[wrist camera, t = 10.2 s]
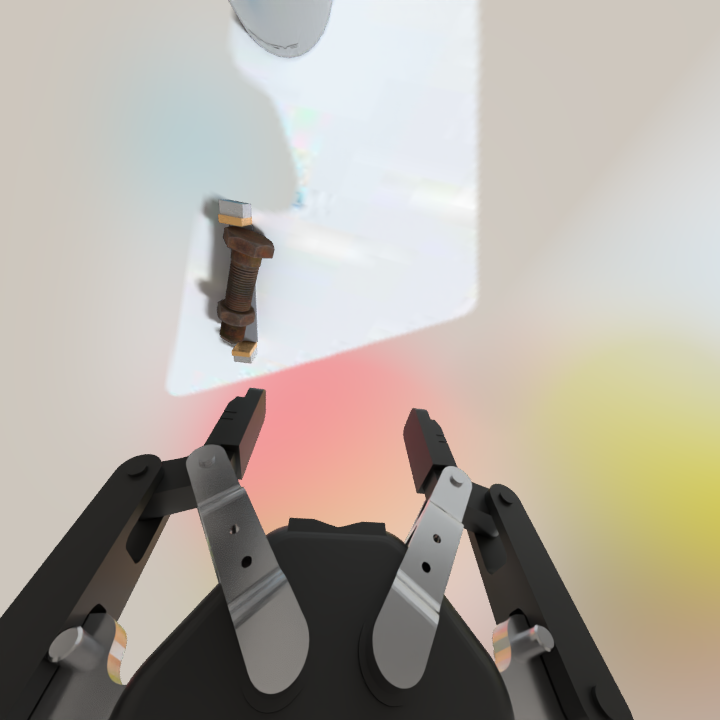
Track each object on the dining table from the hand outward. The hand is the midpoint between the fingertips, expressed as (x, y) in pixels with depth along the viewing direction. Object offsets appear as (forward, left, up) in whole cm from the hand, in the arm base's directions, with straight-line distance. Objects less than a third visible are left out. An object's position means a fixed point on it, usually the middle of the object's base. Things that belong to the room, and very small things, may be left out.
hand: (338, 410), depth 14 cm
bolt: (+3, -14, -26) cm, 29 cm away
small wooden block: (+13, -14, -26) cm, 32 cm away
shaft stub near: (-6, -14, -26) cm, 30 cm away
